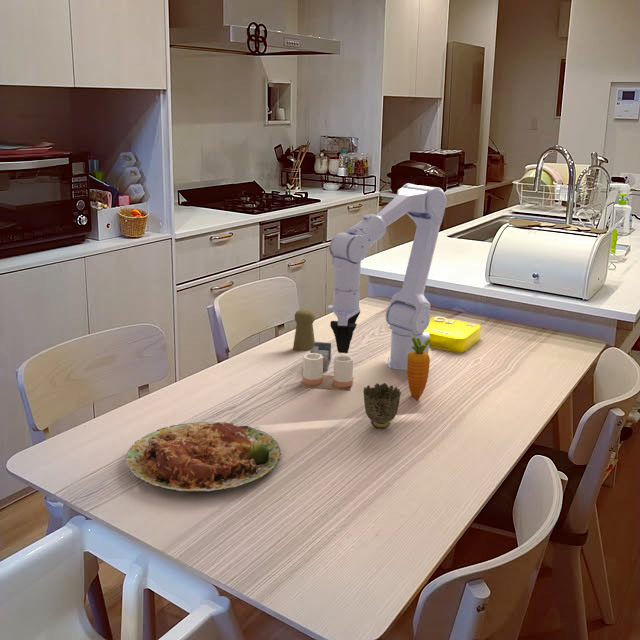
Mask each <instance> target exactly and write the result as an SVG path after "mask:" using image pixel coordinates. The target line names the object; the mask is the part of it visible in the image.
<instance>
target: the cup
mask: <svg viewBox="0 0 640 640" xmlns="http://www.w3.org/2000/svg"><path fill="white" fill-rule="evenodd" d="M362 392H363V402H364V410H365V414H366V416H367V418H368V419H369V420H371V422H370V423H371V425H372V427H373V428H374V429H377V430H385V429H388V428H389V427H390V424H391V421H392V420H394V419H395V418H396V415H397V413H398V409H399V405H400V399H401V395H402V391H401V390H400V388H398V387H397V386H395V387H394V385H393V384H392V385H390V386H388V384H387V383H382V384H379V383H378V382H376V383H375V384H374V387H371V385H370V384H368V385H367V386H366V387H363V391H362Z"/></svg>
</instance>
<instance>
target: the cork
mask: <svg viewBox="0 0 640 640" xmlns="http://www.w3.org/2000/svg"><path fill="white" fill-rule="evenodd" d="M315 319H316V315H315V312H314V311H313V310H310V309H299V310H297V311H296V312H295V313H294V321H295V323H296V327H295V332H294V333H295V334H294V338H293V339H294V340H293V346H292V352H298V351H299V352H301V351H303V352H304V351H305V352H308V351H309V352H310V350H312V348H313V346H314V342H316V339H315V332H314V323H315Z"/></svg>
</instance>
